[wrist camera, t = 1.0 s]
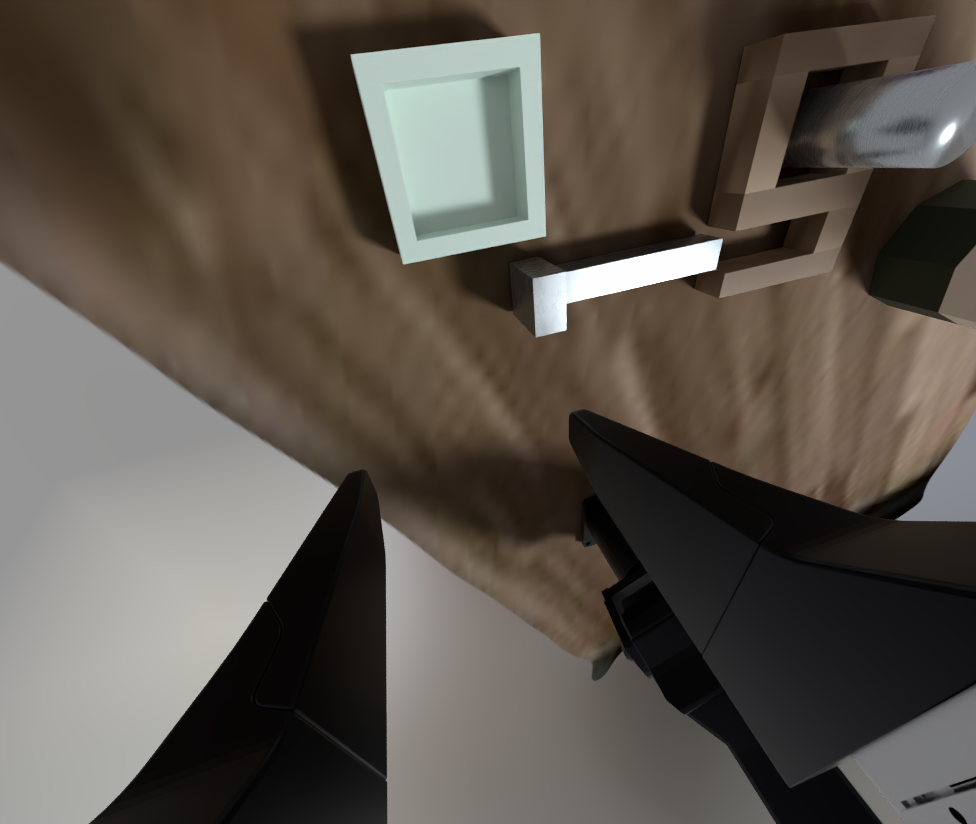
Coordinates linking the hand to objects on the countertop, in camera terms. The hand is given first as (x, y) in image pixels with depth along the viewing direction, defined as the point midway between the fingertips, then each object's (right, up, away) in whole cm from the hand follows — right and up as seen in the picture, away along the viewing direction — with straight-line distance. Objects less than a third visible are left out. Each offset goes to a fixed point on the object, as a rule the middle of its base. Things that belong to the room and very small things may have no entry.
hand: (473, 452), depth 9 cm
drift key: (+8, +9, +11) cm, 17 cm away
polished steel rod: (+16, +16, +10) cm, 25 cm away
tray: (-1, +12, +7) cm, 14 cm away
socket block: (+17, +14, +11) cm, 24 cm away
